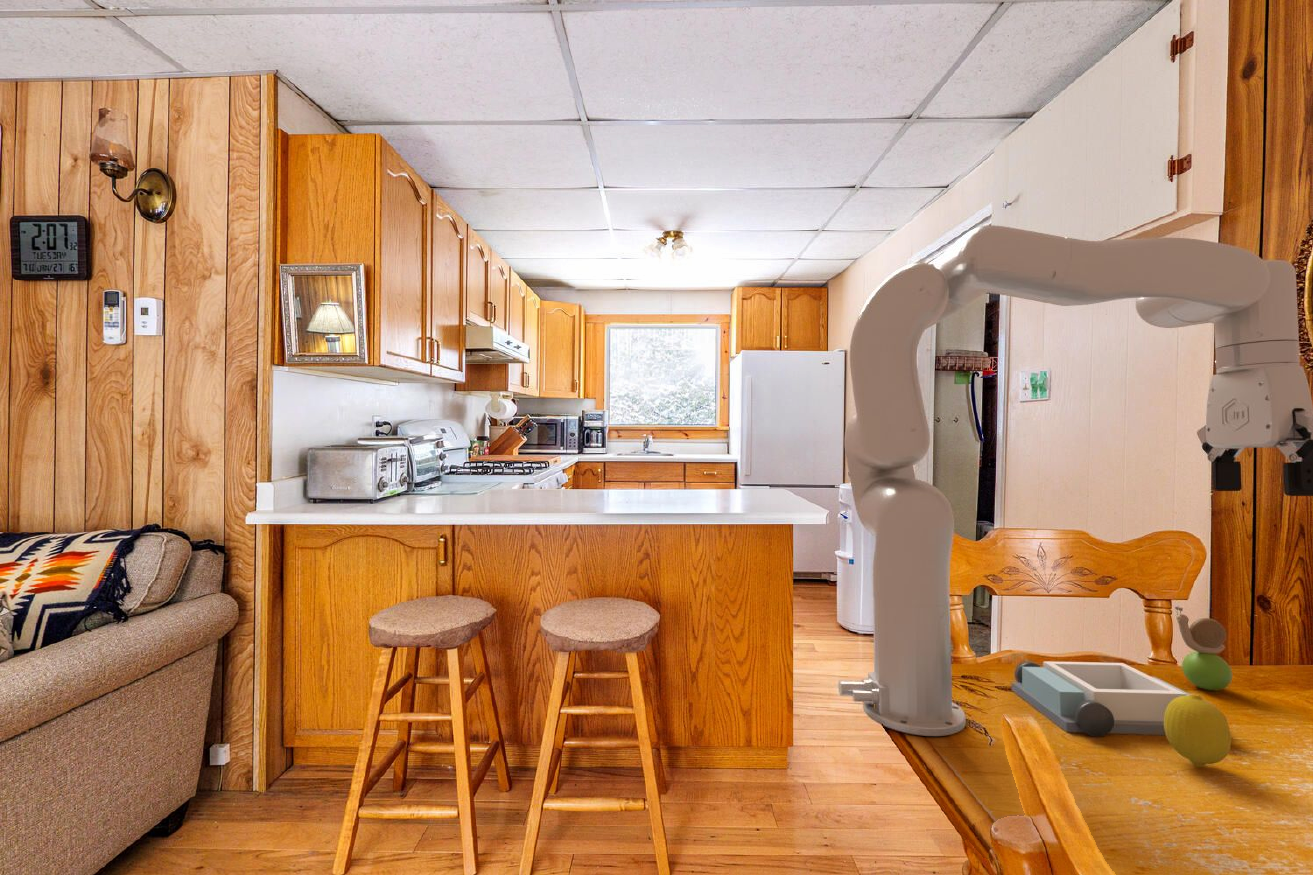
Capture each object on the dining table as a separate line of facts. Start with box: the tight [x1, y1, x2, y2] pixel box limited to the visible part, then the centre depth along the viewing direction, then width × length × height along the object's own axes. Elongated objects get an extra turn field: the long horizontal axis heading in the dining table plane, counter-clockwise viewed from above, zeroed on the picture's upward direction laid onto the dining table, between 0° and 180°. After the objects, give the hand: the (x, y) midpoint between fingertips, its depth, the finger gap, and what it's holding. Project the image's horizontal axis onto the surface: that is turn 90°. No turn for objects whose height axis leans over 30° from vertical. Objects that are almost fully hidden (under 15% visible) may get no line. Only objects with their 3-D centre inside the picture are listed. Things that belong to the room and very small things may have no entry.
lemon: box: [1164, 692, 1232, 768], centre depth 65 cm, size 6×6×8 cm
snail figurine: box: [1174, 605, 1233, 691], centre depth 87 cm, size 5×6×12 cm
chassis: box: [1011, 660, 1227, 738], centre depth 79 cm, size 19×15×5 cm
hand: (1261, 493), depth 75 cm, fingers open, 9 cm apart
